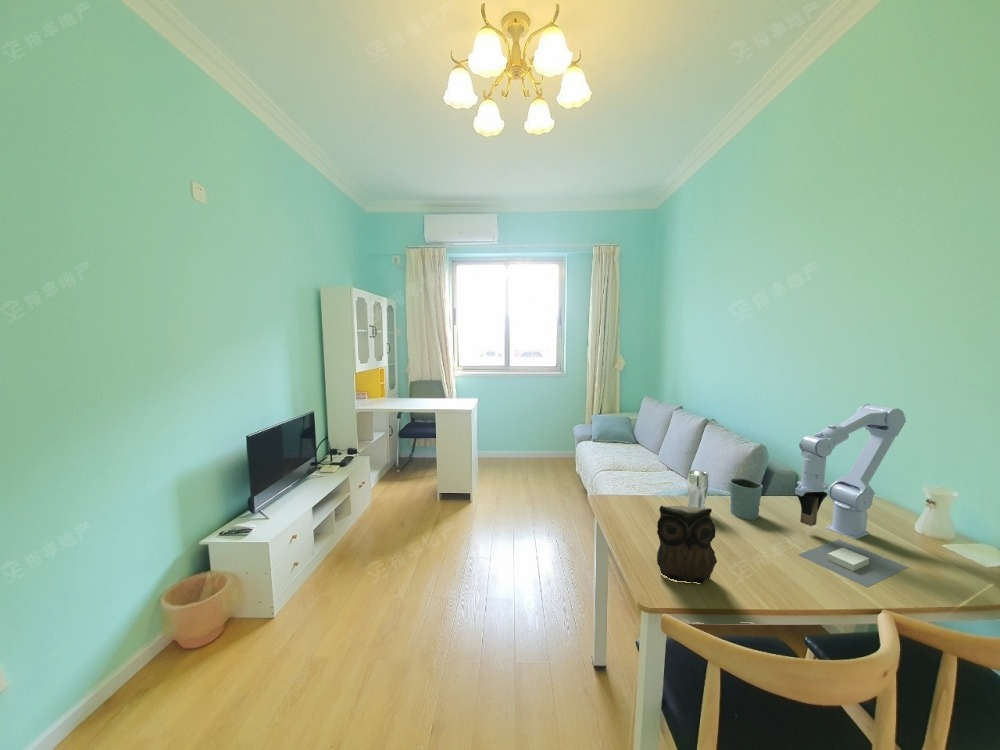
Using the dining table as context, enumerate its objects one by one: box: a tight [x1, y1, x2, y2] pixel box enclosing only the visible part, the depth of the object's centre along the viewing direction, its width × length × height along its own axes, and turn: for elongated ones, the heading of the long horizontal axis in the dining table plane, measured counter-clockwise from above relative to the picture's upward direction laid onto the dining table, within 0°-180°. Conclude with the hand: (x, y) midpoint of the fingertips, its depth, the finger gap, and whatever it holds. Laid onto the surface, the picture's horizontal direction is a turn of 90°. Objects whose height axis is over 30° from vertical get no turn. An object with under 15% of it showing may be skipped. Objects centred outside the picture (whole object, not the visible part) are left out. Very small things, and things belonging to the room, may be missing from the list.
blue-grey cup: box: [729, 477, 764, 521], centre depth 137 cm, size 10×10×12 cm
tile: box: [827, 548, 869, 572], centre depth 107 cm, size 2×6×8 cm
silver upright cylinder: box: [686, 469, 710, 508], centre depth 138 cm, size 7×7×15 cm
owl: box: [656, 505, 718, 584], centre depth 101 cm, size 13×13×20 cm
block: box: [799, 498, 818, 527], centre depth 122 cm, size 3×3×9 cm
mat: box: [797, 538, 909, 588], centre depth 108 cm, size 22×16×1 cm
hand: (809, 512), depth 122 cm, fingers closed on block, 3 cm apart
